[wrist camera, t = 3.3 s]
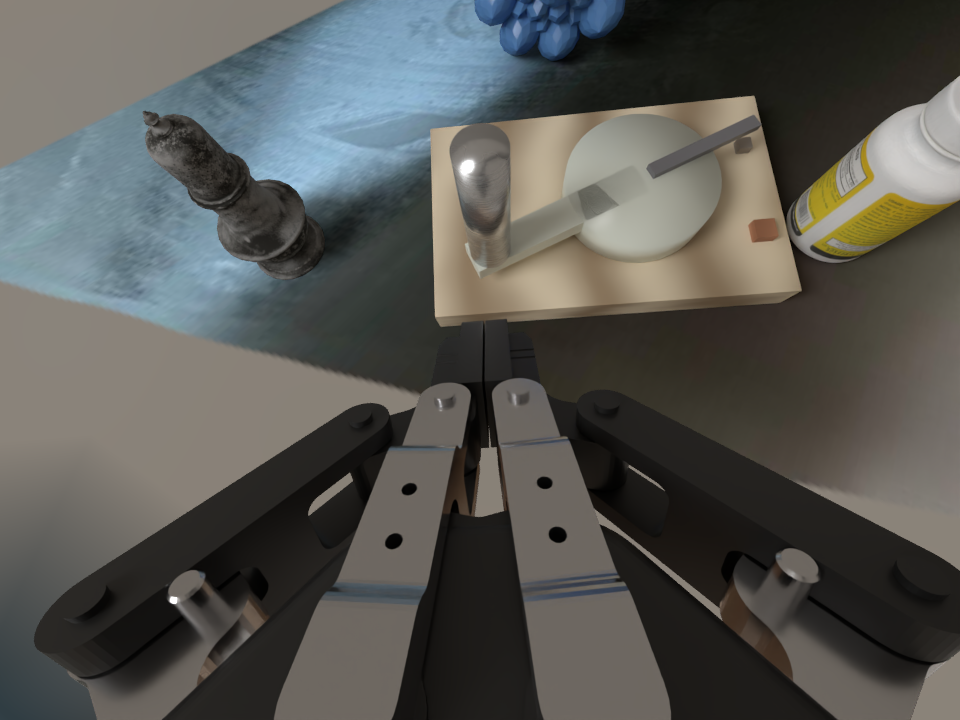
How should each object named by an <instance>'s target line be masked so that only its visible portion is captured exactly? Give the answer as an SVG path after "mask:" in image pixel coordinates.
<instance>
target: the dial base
mask: <svg viewBox="0 0 960 720" xmlns="http://www.w3.org/2000/svg"><path fill="white" fill-rule="evenodd" d="M629 114H653V115H659V116H664V117H667V118H671V119H673V120H676V121H678V122H681V123H682V124H684V125H686V126H688V127H689V128H691V129H692V130H694V131H695V132H697V133H698V134H699V135H700V136H701V137H702V138H705V137H707V136H709V135H711V134H713V133H716V132H718V131H720V130H722V129H724V128H726V127H728V126H730V125H733V124H735V123H737V122H739V121H741V120H743V119H745V118H747V117H750V116H752V115H755V116H756V118H757V119H758V120H759V121H760V118H759V114H758V109H757V105H756V101H755V97H754V96H748V97H738V98H728V99H719V100H709V101H699V102H689V103H680V104H670V105H660V106H651V107H641V108H631V109H621V110H612V111H602V112H592V113H582V114H573V115H563V116H553V117H543V118H534V119H524V120H514V121H504V122H495V123H487V124H491V125H494V126H497V127H498V128H500V129H501V130H502V131H504V133H505V134H506V135H507V137H508V139H509V141H510V164H511V222H513V221H515V220H517V219H519V218H521V217H523V216H525V215H527V214H530V213H532V212H534V211H536V210H538V209H540V208H542V207H544V206H547V205H549V204H551V203H553V202H555V201H557V200H559V199H561V194H562V187H563V182H564V177H565V171H566V167H567V163H568V159H569V157H570V155H571V152H572V151H573V149H574V147H575V146H576V144H577V143H578V142H579V141H580V139H581V138H582V137H583V136H584V135H585V134H586V133H587V132H589V131H590V130H591V129H593V128H594V127H596V126H597V125H599V124H601V123H603V122H605V121H607V120H610V119H612V118H615V117H619V116H623V115H629ZM760 123H761V122H760ZM467 126H469V125H465V126H456V127H446V128H436V129H431V169H432V210H433V250H434V291H435V318H436V320H437V321H438V323H439V325H440V326H441V327H444V326H458V325H461V323H462V322H471V321H484V324H485V320H498V319H507V322H515V321H529V320H543V319H557V318H572V317H586V316H600V315H614V314H628V313H643V312H657V311H671V310H685V309H699V308H714V307H728V306H742V305H756V304H770V303H780V302H782V301H784V300H786V299H788V298H790V297H791V296H793V295H795V294H797V293H799V292H800V291H802V289H801V285H800V281H799V277H798V273H797V269H796V265H795V261H794V257H793V253H792V248H791V244H790V240H789V236H788V232H787V228H786V224H785V220H784V216H783V212H782V208H781V203H780V199H779V195H778V191H777V187H776V183H775V179H774V175H773V171H772V167H771V163H770V159H769V154H768V150H767V146H766V142H765V138H764V134H763V130H762V126H760V128H759V129H758V130H756V131H754V132H752V133H750V134H748V135H746V136H744V137H741V138H739V139H737V140H735V141H733V142H731V143H729V144H727V145H724V146H722V147H720V148H718V149H716V150H714V151H713V152H714V154H715V156H716V158H717V160H718V163H719V166H720V170H721V177H722V188H721V194H720V198H719V201H718V204H717V206H716V208H715V210H714V212H713V214H712V215H711V216H710V218H709V219H708V220H707V221H706V223H705V224H704V225H703V226H702V227H701V228H700V230H699V231H698V232H697V233H696V234H695V235H694V237H693V238H692V239H691V240H690V241H689V242H688V243H687V244H686V245H685V246H684V247H682V248H681V249H680V250H678V251H677V252H675V253H673V254H671V255H669V256H667V257H664V258H662V259H658V260H655V261H650V262H643V263H629V262H621V261H616V260H612V259H609V258H606V257H604V256H602V255H599V254H597V253H595V252H594V251H592V250H591V249H589V248H588V247H586V246H585V245H584V244H583V243H582V242H580V241H579V239H578V238H577V237H576V236H575V235H572V236H570V237H568V238H566V239H564V240H562V241H560V242H558V243H555V244H553V245H551V246H549V247H547V248H545V249H543V250H541V251H539V252H536V253H534V254H532V255H530V256H528V257H526V258H524V259H522V260H520V261H517V262H515V263H513V264H511V265H509V266H507V267H505V268H503V269H501V270H498V271H496V272H494V273H492V274H490V275H488V276H486V277H484V278H482V279H480V277H479V275H478V273H477V271H476V269H475V268H474V266H473V264H472V262H471V260H470V258H469V256H468V254H467V252H466V247H465V244H466V243H468V240H467V235H466V230H465V226H464V221H463V216H462V211H461V207H460V202H459V197H458V192H457V187H456V183H455V178H454V173H453V168H452V164H451V159H450V153H449V150H450V144H451V142H452V140H453V138H454V136H455V135H456V134H457V133H458V132H459V131H460V130H462V129H463V128H465V127H467Z"/></svg>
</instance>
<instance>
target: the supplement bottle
mask: <svg viewBox="0 0 960 720" xmlns="http://www.w3.org/2000/svg"><path fill="white" fill-rule="evenodd" d="M959 200H960V76H959V77H958V78H956V79H955V80H954V81H953V82H951V83H950V84H949V85H948V86H946V87H945V88H944V89H943V90H942V91H940V92H939V93H938V94H937V95H935V96H934V97H933V98H932V99H931V100H930V101H929V102H928V103H925V104H919V105H915V106H911V107H908V108H905V109H903V110H901V111H899V112H897V113H895V114H893V115H892V116H891V117H889V118H888V119H886V120H885V121H884V122H883V123H881V124H880V125H879V126H878V127H877V128H876V129H874V130H873V131H872V132H871V133H870V134H869V135H868V136H867V137H866V138H864V139H863V140H862V141H861V142H860V143H859V144H858V145H857V146H855V147H854V148H853V149H852V150H851V151H850V152H849V153H848V154H846V155H845V156H844V157H843V158H842V159H841V160H840V161H838V162H837V163H836V164H835V165H834V166H833V167H832V168H831V169H830V170H828V171H827V172H826V173H825V174H824V175H823V176H822V177H821V178H819V179H818V180H817V181H816V182H815V183H814V184H813V185H812V186H810V187H809V188H808V189H807V190H806V191H805V192H804V193H803V194H802V195H801V196H800V197H799V198H798V199H797V200H796V201H795V202H794V203H793V204H792V206H791V207H790V209H789V211H788V214H787V219H786V227H787V231H788V234H789V236H790V238H791V240H792V241H793V243H794V244H795V245H796V246H797V247H798V248H799V249H800V250H801V251H802V252H803V253H805V254H806V255H808V256H810V257H812V258H814V259H817V260H820V261H823V262H829V263H841V262H847V261H850V260H853V259H856V258H858V257H860V256H862V255H864V254H866V253H868V252H869V251H871V250H873V249H875V248H876V247H878V246H880V245H882V244H884V243H885V242H887V241H889V240H891V239H893V238H894V237H896V236H898V235H900V234H901V233H903V232H905V231H907V230H908V229H910V228H912V227H914V226H916V225H917V224H919V223H921V222H923V221H924V220H926V219H928V218H930V217H931V216H933V215H935V214H937V213H938V212H940V211H942V210H943V209H945V208H947V207H949V206H950V205H952V204H954V203H956V202H957V201H959Z"/></svg>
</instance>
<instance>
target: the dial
mask: <svg viewBox="0 0 960 720" xmlns="http://www.w3.org/2000/svg"><path fill="white" fill-rule="evenodd" d="M761 125H762V124H761V123H760V121H759V120H758V119H757V118H756V116H755V115H752V116H750V117H747V118H745V119H743V120H741V121H739V122H737V123H735V124H733V125H730V126H728V127H726V128H724V129H722V130H720V131H718V132H716V133H713V134H711V135H709V136H707V137H705V138H702V137H701V136H700V135H699V134H698V133H697V132H695V131H694V130H692V129H691V128H689V127H688V126H686V125H684V124H682V123H681V122H678V121H676V120H673V119H671V118H667V117H664V116H659V115H653V114H629V115H623V116H619V117H615V118H612V119H610V120H607V121H605V122H603V123H601V124H599V125H597V126H596V127H594V128H593V129H591V130H590V131H589V132H587V133H586V134H585V135H584V136H583V137H582V138H581V139H580V141H579V142H578V143H577V144H576V146H575V147H574V149H573V151H572V152H571V155H570V157H569V159H568V163H567V167H566V171H565V177H564V182H563V187H562V194H561V199H559V200H557V201H555V202H553V203H551V204H549V205H547V206H544V207H542V208H540V209H538V210H536V211H534V212H532V213H530V214H527V215H525V216H523V217H521V218H519V219H517V220H515V221H513V222H511V164H510V141H509V139H508V137H507V135H506V134H505V133H504V131H502V130H501V129H500V128H498V127H497V126H494V125H491V124H487V123H477V124H472V125H469V126H467V127H465V128H463V129H462V130H460V131H459V132H458V133H457V134H456V135H455V136H454V138H453V140H452V142H451V144H450V150H449V153H450V159H451V164H452V168H453V173H454V178H455V183H456V187H457V192H458V197H459V202H460V207H461V211H462V216H463V221H464V226H465V230H466V235H467V240H468V243H466V244H465V247H466V252H467V254H468V256H469V258H470V260H471V262H472V264H473V266H474V268H475V269H476V271H477V273H478V275H479V277H480V279H482V278H484V277H486V276H488V275H490V274H492V273H494V272H496V271H498V270H501V269H503V268H505V267H507V266H509V265H511V264H513V263H515V262H517V261H520V260H522V259H524V258H526V257H528V256H530V255H532V254H534V253H536V252H539V251H541V250H543V249H545V248H547V247H549V246H551V245H553V244H555V243H558V242H560V241H562V240H564V239H566V238H568V237H570V236H572V235H575V236H576V237H577V238H578V239H579V241H580V242H582V243H583V244H584V245H585V246H586V247H588V248H589V249H591V250H592V251H594V252H595V253H597V254H599V255H602V256H604V257H606V258H609V259H612V260H616V261H621V262H629V263H643V262H650V261H655V260H658V259H662V258H664V257H667V256H669V255H671V254H673V253H675V252H677V251H678V250H680V249H681V248H682V247H684V246H685V245H686V244H687V243H688V242H689V241H690V240H691V239H692V238H693V237H694V235H695V234H696V233H697V232H698V231H699V230H700V228H701V227H702V226H703V225H704V224H705V223H706V221H707V220H708V219H709V218H710V216H711V215H712V214H713V212H714V210H715V208H716V206H717V204H718V201H719V198H720V194H721V188H722V177H721V170H720V166H719V163H718V160H717V158H716V156H715V154H714V152H713V151H714V150H716V149H718V148H720V147H722V146H724V145H727V144H729V143H731V142H733V141H735V140H737V139H739V138H741V137H744V136H746V135H748V134H750V133H752V132H754V131H756V130H758V129H759V128H760V126H761Z"/></svg>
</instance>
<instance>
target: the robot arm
mask: <svg viewBox="0 0 960 720" xmlns="http://www.w3.org/2000/svg"><path fill="white" fill-rule="evenodd" d="M489 430H490V439H491V447H497V455H498V467H499V476H500V484H501V491H502V499H503V507H504V511H503V512H499V513H495V514H492V515H488V516H484V517H475V509H476V501H477V492H478V484H479V475H480V465H479V461H480V457H481V448H489ZM629 465H631V466H632V467H634V468H635V469H637V470H639V471H640V472H642V473H643V474H645V475H646V476H648V477H649V478H651V479H652V480H654V481H655V482H657V483H658V484H659V485H660V486H661V487H662V488H663V489H664V490H665V491H664V490H662V489H660V488H659V487H657V486H656V485H654V484H653V483H651V482H650V481H648V480H647V479H645V478H644V477H642V476H641V475H639V474H637V473H636V472H635V471H633V470H632V469H630V468H628V466H629ZM348 473H351V476H352V479H353V482H351V483H350V484H349V485H348V486H346V487H345V488H344V489H343V490H341V491H340V492H339V493H337V494H336V495H335V496H334V497H332V498H331V499H330V500H329V501H327V502H326V503H325V504H324V505H322V506H321V507H320V508H318V509H317V510H316V511H315V512H313V513H312V514H311V515H310V516H308V511H309V508H310V506H311V504H312V502H313V501H314V500H315V499H316V498H317V497H318V496H319V495H321V494H322V493H323V492H325V491H326V490H327V489H328V488H330V487H331V486H332V485H334V484H335V483H336V482H338V481H339V480H340V479H342V478H343V477H344V476H346V475H347V474H348ZM594 509H595V510H597V511H598V512H599V513H601V514H602V515H603V516H604V517H606V518H607V519H608V520H609V521H611V522H612V523H613V524H614V525H616V526H617V527H618V528H620V529H621V530H622V531H623V532H624V533H626V534H627V535H628V536H629V537H631V538H632V539H633V540H634V541H636V542H637V543H638V544H640V545H641V546H642V547H643V548H645V549H646V550H647V551H649V552H650V553H651V554H652V555H653V556H655V557H656V558H657V559H658V560H660V561H661V562H662V563H663V564H665V565H666V566H667V567H669V568H670V569H671V570H672V571H673V572H675V573H676V574H677V575H679V576H680V577H681V578H682V579H683V580H685V581H686V582H687V583H689V584H690V585H691V586H692V587H694V588H695V589H696V590H697V591H699V592H700V593H701V594H702V595H704V596H705V597H706V598H707V599H709V600H710V601H711V602H713V603H714V604H715V605H716V606H718V607H719V608H720V614H721V618H722V620H721V619H719V618H718V617H717V616H716V615H714V614H713V613H712V612H711V611H710V610H709V609H708V608H706V607H705V606H704V605H703V604H702V603H701V602H700V601H698V600H697V599H696V598H695V597H694V596H692V595H691V594H690V593H689V592H688V591H687V590H685V589H684V588H683V587H682V586H681V585H680V584H678V583H677V582H676V581H675V580H674V579H673V578H671V577H670V576H669V575H668V574H667V573H666V572H664V571H663V570H662V569H661V568H660V567H658V566H657V565H656V564H655V563H654V562H653V561H651V560H650V559H649V558H648V557H647V556H646V555H645V554H643V553H642V552H641V551H640V550H639V549H637V548H636V547H635V546H634V545H632V543H630V542H629V541H628V540H626V539H625V538H623V537H622V536H621V535H619V534H618V533H616V532H614V531H612V530H610V529H608V528H607V527H605V526H602V525H600V524H599V522H598V519H597V516H596V513H595V511H594ZM34 643H35V646H36V648H37V649H38V650H39V651H40V652H42V653H43V654H45V655H46V656H48V657H49V658H51V659H52V660H54V661H55V662H56V663H58V664H59V665H61V666H62V667H64V668H65V669H67V672H68V674H69V675H70V676H71V677H72V678H73V679H75V680H76V681H78V682H79V683H81V684H82V685H84V686H85V687H87V688H88V689H89V693H90V696H91V699H92V703H93V706H94V709H95V713H96V716H97V720H911V717H912V715H913V712H914V709H915V706H916V703H917V700H918V697H919V694H920V691H921V689H922V686H923V683H924V680H925V679H927V678H928V677H929V676H930V675H931V674H933V673H934V672H935V671H936V670H937V669H939V668H940V667H941V666H942V665H943V664H944V663H946V662H947V661H948V660H949V659H950V658H951V657H953V656H954V655H955V654H956V653H957V652H959V651H960V571H959V570H958V569H956V568H955V567H954V566H953V565H951V564H950V563H948V562H947V561H945V560H944V559H942V558H940V557H939V556H937V555H935V554H933V553H932V552H930V551H928V550H926V549H924V548H922V547H920V546H918V545H916V544H914V543H912V542H910V541H908V540H906V539H904V538H902V537H900V536H898V535H896V534H895V533H893V532H891V531H889V530H887V529H885V528H883V527H881V526H879V525H877V524H875V523H873V522H871V521H869V520H867V519H865V518H863V517H861V516H859V515H857V514H855V513H854V512H852V511H850V510H848V509H846V508H844V507H842V506H840V505H838V504H836V503H834V502H832V501H830V500H828V499H826V498H824V497H822V496H820V495H818V494H816V493H815V492H813V491H811V490H809V489H807V488H805V487H803V486H801V485H799V484H797V483H795V482H793V481H791V480H789V479H787V478H785V477H783V476H781V475H779V474H777V473H776V472H774V471H772V470H770V469H768V468H766V467H764V466H762V465H760V464H758V463H756V462H754V461H752V460H750V459H748V458H746V457H744V456H742V455H740V454H738V453H737V452H735V451H733V450H731V449H729V448H727V447H725V446H723V445H721V444H719V443H717V442H715V441H713V440H711V439H709V438H707V437H705V436H703V435H701V434H699V433H698V432H696V431H694V430H692V429H690V428H688V427H686V426H684V425H682V424H680V423H678V422H676V421H674V420H672V419H670V418H668V417H666V416H664V415H662V414H660V413H659V412H657V411H655V410H653V409H651V408H649V407H647V406H645V405H643V404H641V403H639V402H637V401H635V400H633V399H631V398H629V397H627V396H625V395H623V394H621V393H618V392H615V391H610V390H595V391H590V392H588V393H586V394H584V395H582V396H581V397H580V398H579V400H578V402H577V403H572V402H566V401H561V400H558V399H555V398H553V397H551V396H549V395H548V394H547V393H546V392H545V390H544V388H543V387H542V385H541V384H540V379H539V374H538V369H537V364H536V359H535V354H534V348H533V343H532V339H531V338H529V337H528V336H527V335H526V334H525V333H524V332H521V333H508V325H507V319H498V320H485V329H484V321H471V322H462V323H461V332H460V337H450V338H446V339H445V340H444V341H443V342H442V344H441V345H440V346H439V349H438V354H437V359H436V364H435V368H434V373H433V378H432V383H431V387H430V388H428V389H427V390H425V391H424V392H423V393H422V394H421V395H420V397H419V400H418V403H417V406H416V407H415V408H412V409H410V410H407V411H404V412H401V413H397V414H393V415H389V412H388V410H387V409H386V408H385V407H384V406H382V405H380V404H375V403H367V404H361V405H357V406H354V407H352V408H350V409H348V410H346V411H344V412H343V413H341V414H340V415H338V416H337V417H335V418H333V419H332V420H330V421H329V422H328V423H326V424H324V425H323V426H321V427H319V428H318V429H317V430H315V431H313V432H312V433H310V434H309V435H307V436H305V437H304V438H302V439H301V440H299V441H298V442H296V443H295V444H293V445H291V446H290V447H289V448H287V449H285V450H284V451H282V452H281V453H279V454H277V455H276V456H275V457H273V458H271V459H270V460H268V461H267V462H265V463H264V464H262V465H260V466H259V467H257V468H256V469H254V470H253V471H251V472H249V473H248V474H246V475H245V476H243V477H242V478H241V479H239V480H237V481H236V482H234V483H232V484H231V485H229V486H228V487H226V488H225V489H223V490H221V491H220V492H218V493H217V494H215V495H214V496H212V497H211V498H209V499H208V500H206V501H204V502H203V503H201V504H200V505H198V506H197V507H195V508H193V509H192V510H190V511H189V512H187V513H186V514H184V515H183V516H181V517H179V518H178V519H176V520H175V521H173V522H172V523H170V524H169V525H167V526H165V527H164V528H162V529H161V530H160V531H158V532H156V533H155V534H153V535H152V536H150V537H148V538H147V539H145V540H144V541H142V542H141V543H139V544H138V545H136V546H135V547H133V548H131V549H130V550H128V551H127V552H125V553H123V554H122V555H120V556H119V557H117V558H116V559H114V560H113V561H111V562H109V563H108V564H107V565H105V566H103V567H102V568H100V569H99V570H97V571H96V572H94V573H92V574H91V575H89V576H88V577H86V578H85V579H83V580H82V581H80V582H79V583H77V584H76V585H74V586H73V587H72V588H70V589H69V590H68V591H67V592H65V593H64V594H63V595H62V596H61V597H60V598H59V599H58V600H57V601H56V602H55V603H54V604H53V605H52V606H51V607H50V608H49V610H48V611H47V612H46V613H45V615H44V616H43V618H42V620H41V621H40V623H39V625H38V627H37V629H36V632H35V636H34Z"/></svg>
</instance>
